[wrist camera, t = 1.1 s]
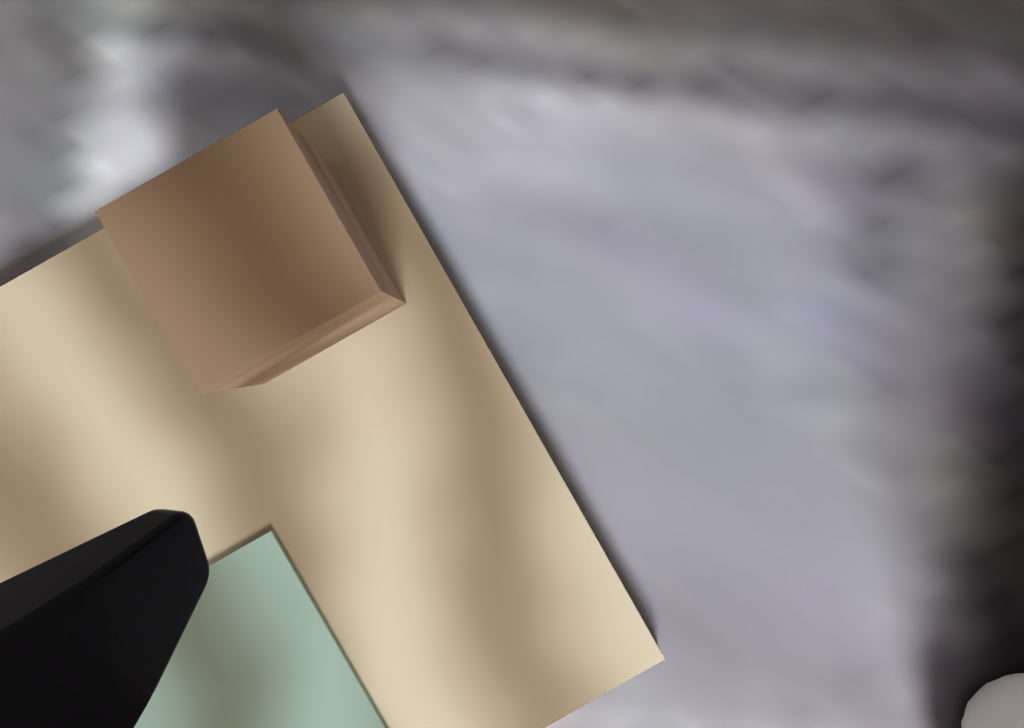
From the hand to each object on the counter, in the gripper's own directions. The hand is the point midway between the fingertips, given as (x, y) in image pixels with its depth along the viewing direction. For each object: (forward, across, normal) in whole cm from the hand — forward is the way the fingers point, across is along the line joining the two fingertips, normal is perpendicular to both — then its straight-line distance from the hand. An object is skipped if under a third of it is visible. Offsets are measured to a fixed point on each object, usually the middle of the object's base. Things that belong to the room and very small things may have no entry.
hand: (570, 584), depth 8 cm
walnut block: (+14, +11, +2) cm, 18 cm away
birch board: (+11, +12, +9) cm, 19 cm away
